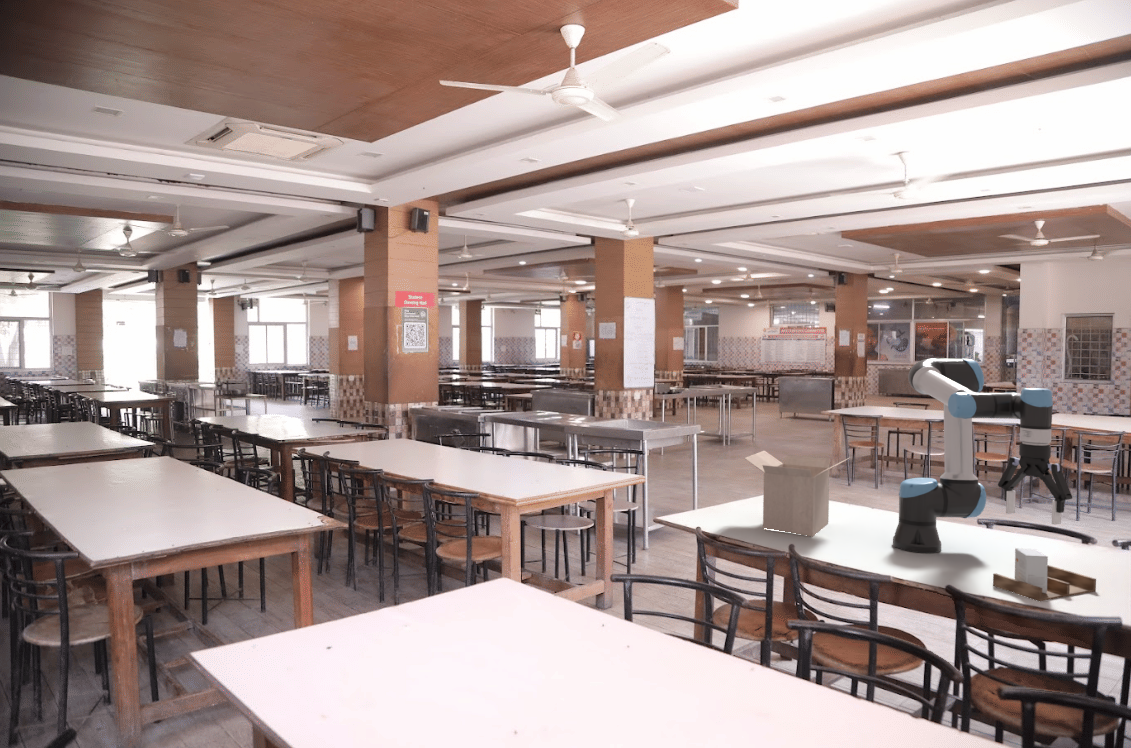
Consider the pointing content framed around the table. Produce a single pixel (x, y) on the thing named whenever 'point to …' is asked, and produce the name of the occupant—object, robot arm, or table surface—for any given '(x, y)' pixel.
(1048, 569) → the rack
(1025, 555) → the small box
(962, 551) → the table surface
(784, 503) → the box
